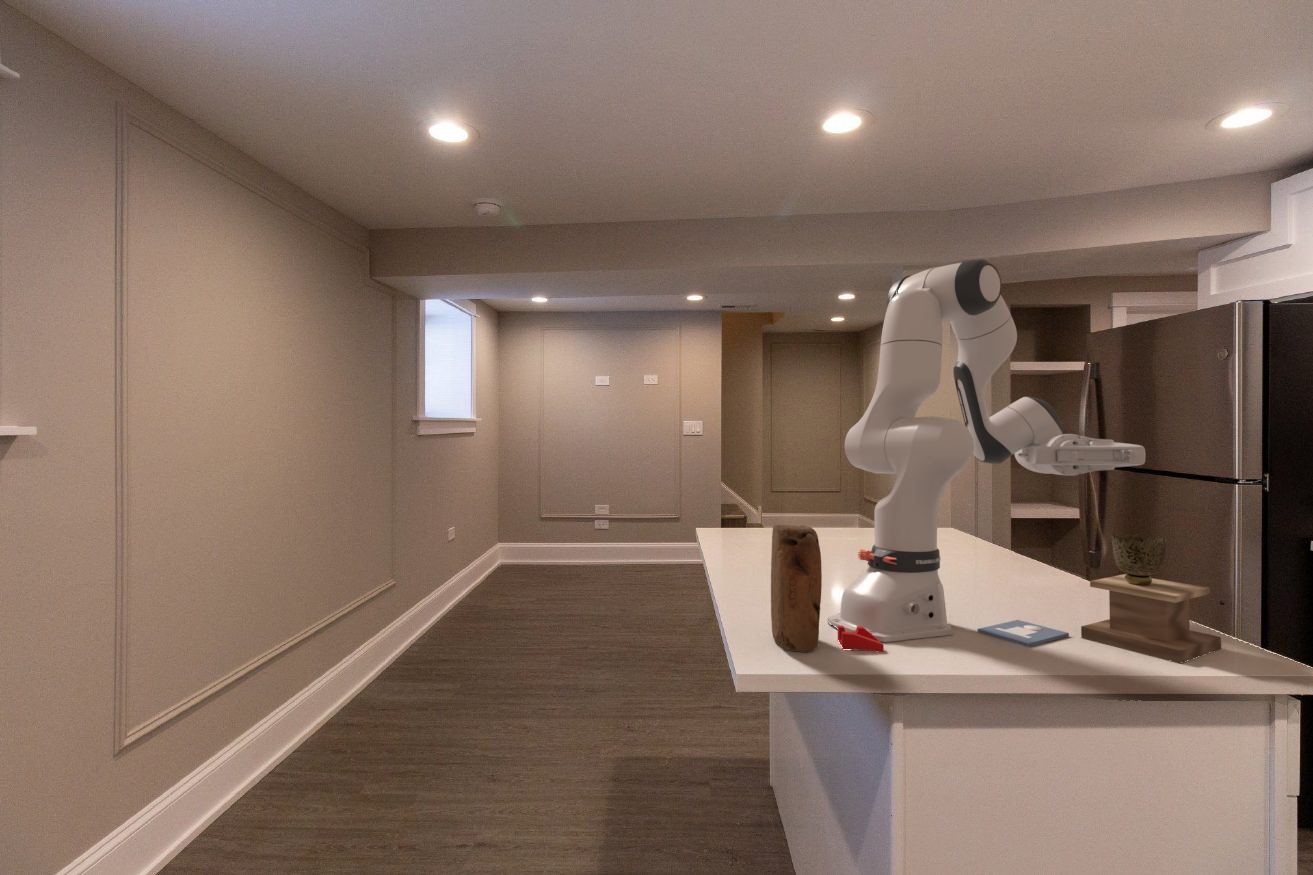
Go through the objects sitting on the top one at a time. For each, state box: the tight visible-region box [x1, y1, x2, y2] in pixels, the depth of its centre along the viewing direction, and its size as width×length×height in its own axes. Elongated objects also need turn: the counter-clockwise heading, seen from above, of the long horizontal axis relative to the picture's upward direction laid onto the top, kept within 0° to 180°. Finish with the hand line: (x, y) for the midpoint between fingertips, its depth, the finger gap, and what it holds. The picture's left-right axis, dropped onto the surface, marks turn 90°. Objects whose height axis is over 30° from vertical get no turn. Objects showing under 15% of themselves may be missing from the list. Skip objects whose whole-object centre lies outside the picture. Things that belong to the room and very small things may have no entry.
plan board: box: [977, 619, 1070, 648], centre depth 106 cm, size 12×9×1 cm
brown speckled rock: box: [770, 524, 823, 653], centre depth 102 cm, size 11×8×20 cm
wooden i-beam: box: [1080, 573, 1222, 664], centre depth 101 cm, size 14×14×10 cm
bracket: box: [837, 625, 884, 653], centre depth 100 cm, size 6×5×3 cm
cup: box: [1110, 533, 1168, 585], centre depth 102 cm, size 8×7×8 cm
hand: (1106, 455), depth 113 cm, fingers open, 8 cm apart
